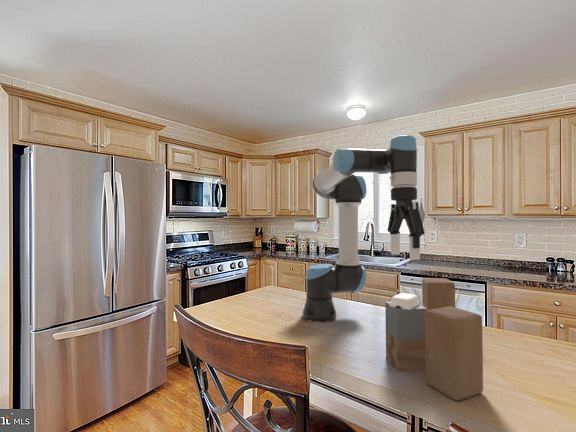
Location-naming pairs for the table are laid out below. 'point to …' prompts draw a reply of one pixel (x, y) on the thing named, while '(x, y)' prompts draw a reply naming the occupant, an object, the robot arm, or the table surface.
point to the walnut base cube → (405, 353)
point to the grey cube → (405, 322)
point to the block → (454, 352)
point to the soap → (405, 301)
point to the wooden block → (438, 293)
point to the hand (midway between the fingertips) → (404, 256)
